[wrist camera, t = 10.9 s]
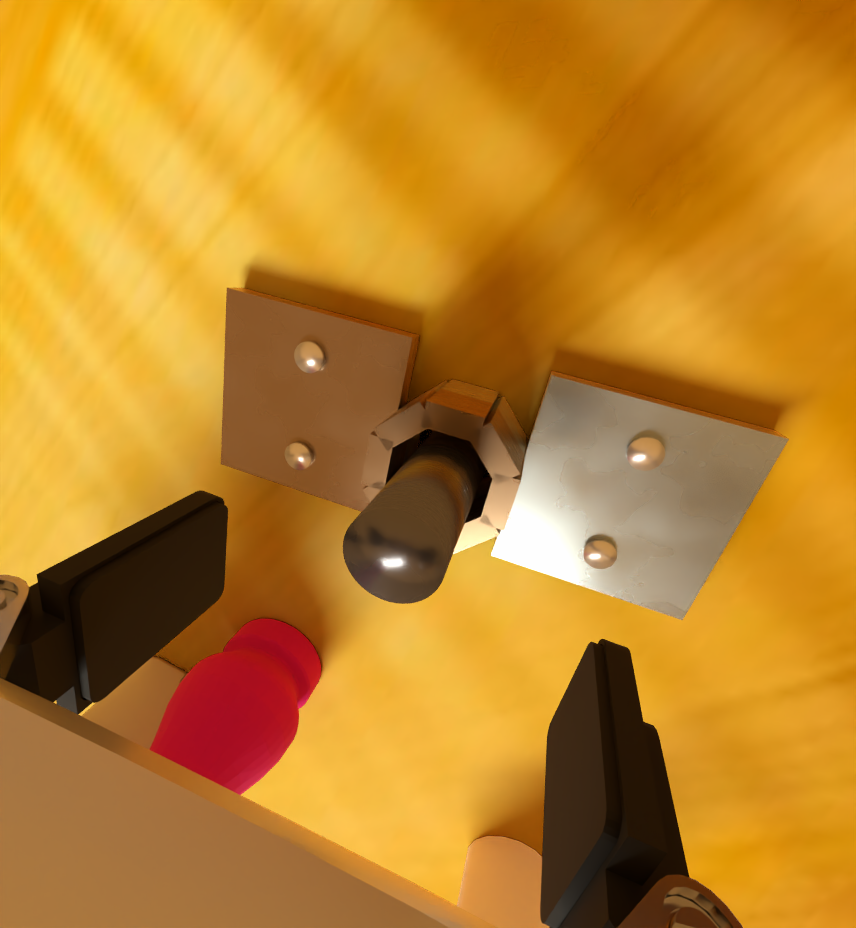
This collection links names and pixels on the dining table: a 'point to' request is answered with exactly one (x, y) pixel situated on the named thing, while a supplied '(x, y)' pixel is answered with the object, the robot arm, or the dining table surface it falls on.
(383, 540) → the hinge pin
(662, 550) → the hinge
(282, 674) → the pepper mill
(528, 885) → the paper coffee cup
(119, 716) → the beige upright panel
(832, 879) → the dining table surface
